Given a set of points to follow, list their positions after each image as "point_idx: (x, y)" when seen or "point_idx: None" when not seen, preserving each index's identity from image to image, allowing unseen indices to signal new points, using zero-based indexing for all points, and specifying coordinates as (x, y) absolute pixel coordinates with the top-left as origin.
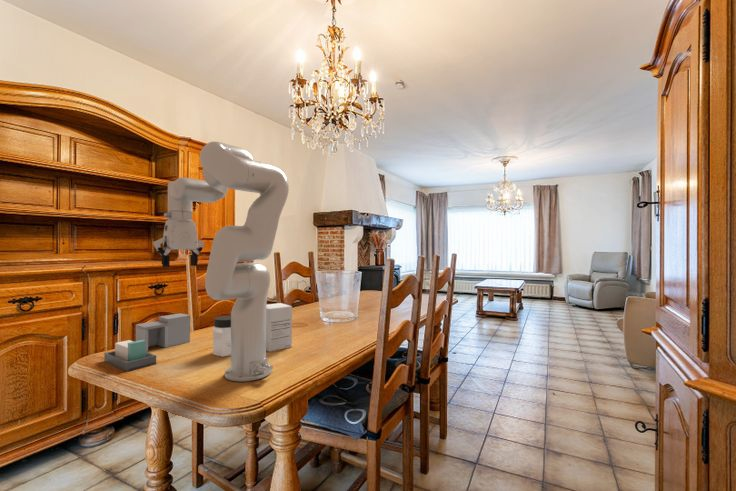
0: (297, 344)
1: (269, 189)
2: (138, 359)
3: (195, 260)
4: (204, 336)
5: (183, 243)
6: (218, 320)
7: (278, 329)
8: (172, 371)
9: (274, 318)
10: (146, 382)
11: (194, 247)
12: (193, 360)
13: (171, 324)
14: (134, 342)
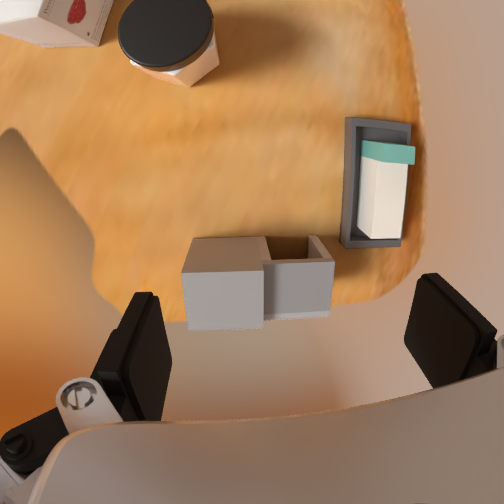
0: None
1: None
2: (388, 125)
3: (140, 323)
4: (140, 260)
5: (443, 493)
6: (210, 10)
7: None
8: (346, 39)
9: None
10: (400, 33)
11: (123, 438)
12: (277, 64)
13: (250, 261)
14: (405, 152)
